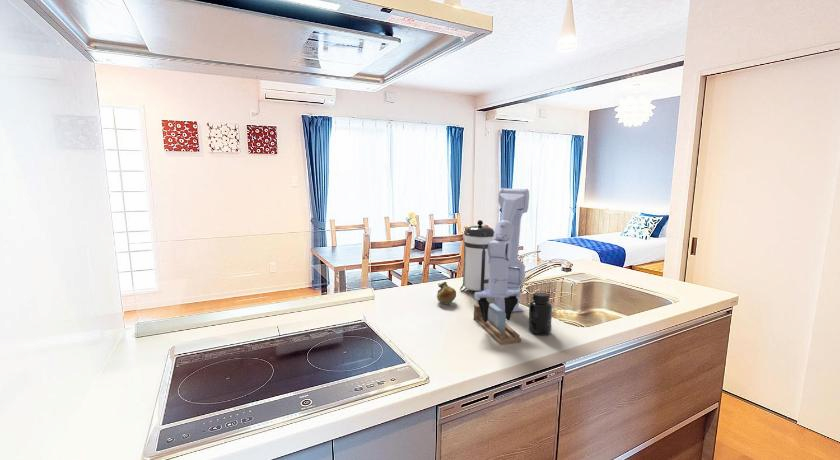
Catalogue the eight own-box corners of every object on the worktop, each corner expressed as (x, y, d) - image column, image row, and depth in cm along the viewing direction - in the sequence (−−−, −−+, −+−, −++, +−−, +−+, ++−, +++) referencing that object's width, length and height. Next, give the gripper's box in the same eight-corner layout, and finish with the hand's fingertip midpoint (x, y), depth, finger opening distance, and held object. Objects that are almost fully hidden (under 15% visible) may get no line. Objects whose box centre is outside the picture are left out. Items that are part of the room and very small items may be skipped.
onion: (434, 305, 143) (434, 285, 142) (438, 299, 151) (438, 279, 150) (454, 307, 142) (455, 286, 140) (457, 300, 149) (457, 280, 148)
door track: (473, 318, 131) (474, 304, 130) (492, 317, 133) (493, 303, 132) (499, 344, 112) (500, 327, 111) (521, 342, 113) (521, 325, 113)
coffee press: (463, 297, 153) (466, 222, 149) (456, 285, 169) (459, 217, 165) (506, 296, 155) (510, 223, 150) (495, 285, 171) (498, 218, 166)
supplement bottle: (554, 335, 118) (555, 297, 116) (531, 335, 118) (533, 297, 116) (546, 327, 125) (548, 291, 123) (525, 327, 125) (527, 291, 123)
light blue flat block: (487, 321, 126) (487, 304, 125) (492, 321, 127) (493, 303, 126) (498, 332, 117) (499, 313, 117) (505, 332, 118) (506, 313, 117)
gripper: (481, 283, 114) (479, 326, 116) (525, 280, 118) (523, 322, 120) (472, 276, 121) (471, 318, 123) (514, 274, 124) (512, 314, 126)
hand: (496, 319), depth 122 cm, fingers open, 7 cm apart
